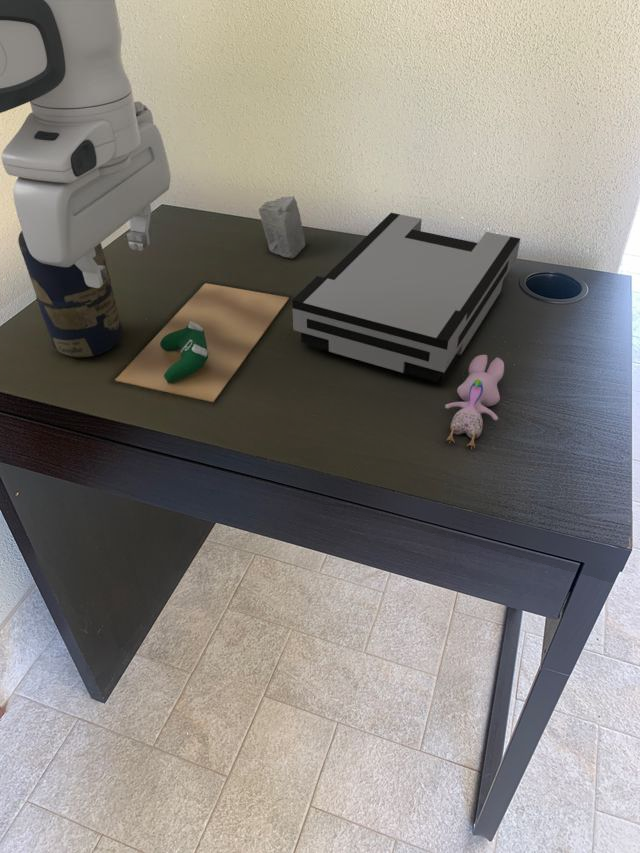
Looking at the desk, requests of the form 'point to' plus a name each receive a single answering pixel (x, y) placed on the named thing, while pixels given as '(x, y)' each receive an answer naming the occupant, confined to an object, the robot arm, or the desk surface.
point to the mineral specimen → (283, 226)
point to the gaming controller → (186, 351)
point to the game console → (405, 297)
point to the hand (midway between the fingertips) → (119, 265)
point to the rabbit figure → (476, 397)
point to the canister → (74, 306)
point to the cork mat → (208, 340)
